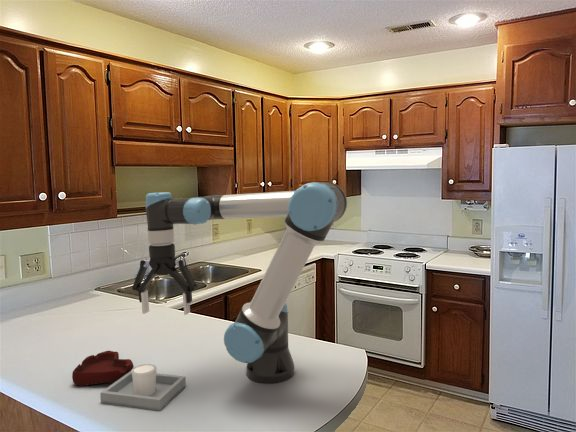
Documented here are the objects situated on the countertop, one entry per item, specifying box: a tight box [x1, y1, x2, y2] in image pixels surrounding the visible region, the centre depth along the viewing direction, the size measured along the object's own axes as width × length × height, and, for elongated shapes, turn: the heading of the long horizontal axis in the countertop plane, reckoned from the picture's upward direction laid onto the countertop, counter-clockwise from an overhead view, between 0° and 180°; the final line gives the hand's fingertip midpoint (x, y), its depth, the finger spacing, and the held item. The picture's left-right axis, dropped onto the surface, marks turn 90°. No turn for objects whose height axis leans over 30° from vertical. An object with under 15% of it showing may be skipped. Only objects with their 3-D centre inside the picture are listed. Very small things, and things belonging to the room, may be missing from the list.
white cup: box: [131, 363, 157, 396], centre depth 129 cm, size 7×7×7 cm
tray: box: [100, 371, 187, 412], centre depth 129 cm, size 18×14×3 cm
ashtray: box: [71, 350, 135, 387], centre depth 141 cm, size 18×16×5 cm
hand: (166, 313), depth 137 cm, fingers open, 13 cm apart
